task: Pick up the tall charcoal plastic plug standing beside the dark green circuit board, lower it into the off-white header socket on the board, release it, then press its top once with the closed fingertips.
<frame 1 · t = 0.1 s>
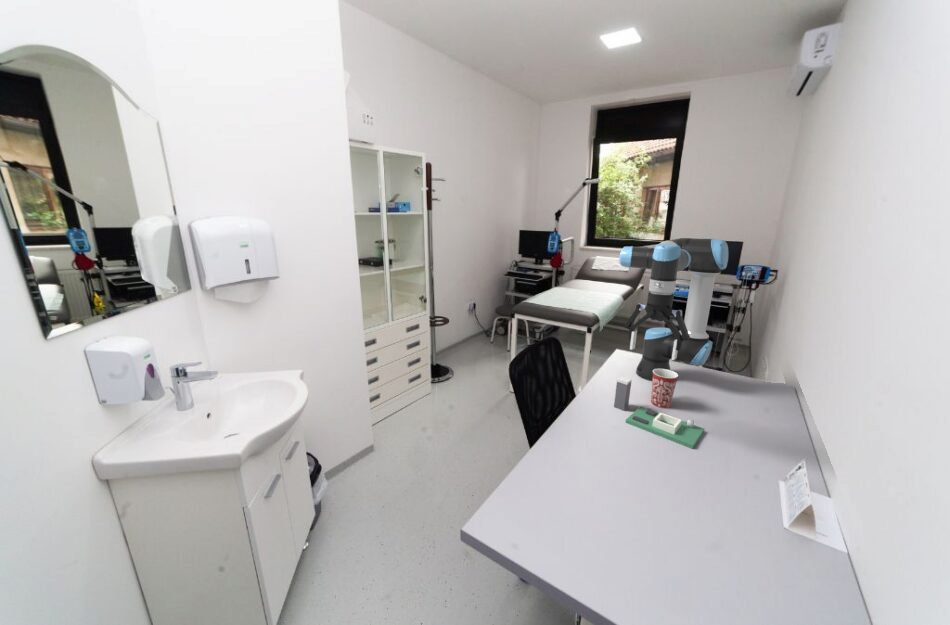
hand: (652, 353, 124), 28 cm above the table, fingers open, 13 cm apart
mug: (661, 402, 149), on the table
plug: (621, 407, 145), on the table
board: (663, 426, 131), on the table
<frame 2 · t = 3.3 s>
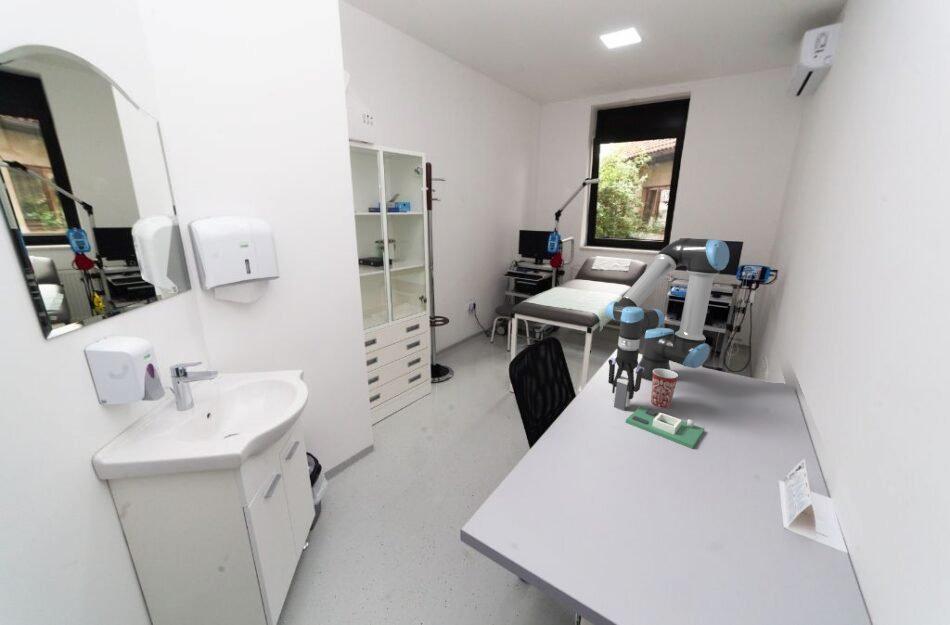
hand: (621, 403, 144), 2 cm above the table, fingers closed on plug, 4 cm apart
plug: (621, 407, 145), on the table, touching gripper
everything else where it was.
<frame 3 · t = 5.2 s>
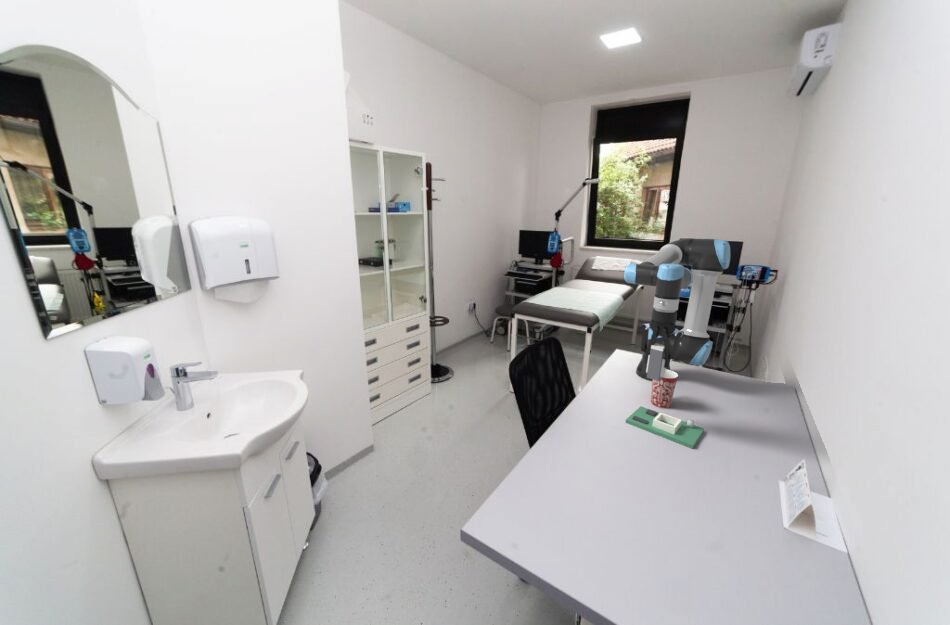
hand: (655, 373, 130), 19 cm above the table, fingers closed on plug, 4 cm apart
plug: (654, 377, 130), point 17 cm above the table, touching gripper
everything else where it was.
when the fingers open (4 cm above the table, at t = 7.6 s): plug drops 1 cm, resting on board.
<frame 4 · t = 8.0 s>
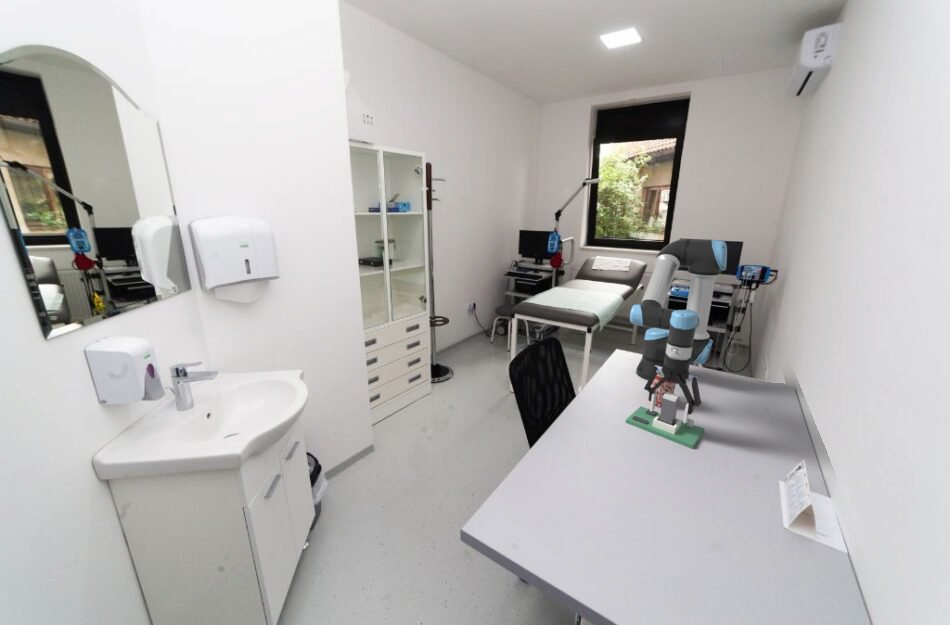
hand: (668, 415, 128), 5 cm above the table, fingers open, 10 cm apart
plug: (666, 426, 129), point 1 cm above the table, touching board
everything else where it was.
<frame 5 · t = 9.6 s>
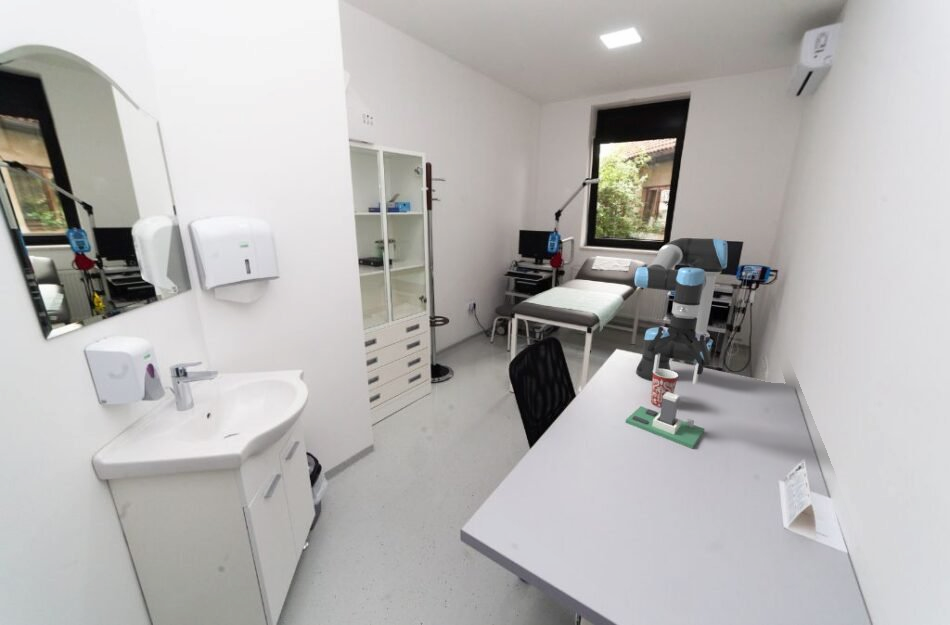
hand: (674, 376, 125), 20 cm above the table, fingers open, 12 cm apart
nothing on the table moved.
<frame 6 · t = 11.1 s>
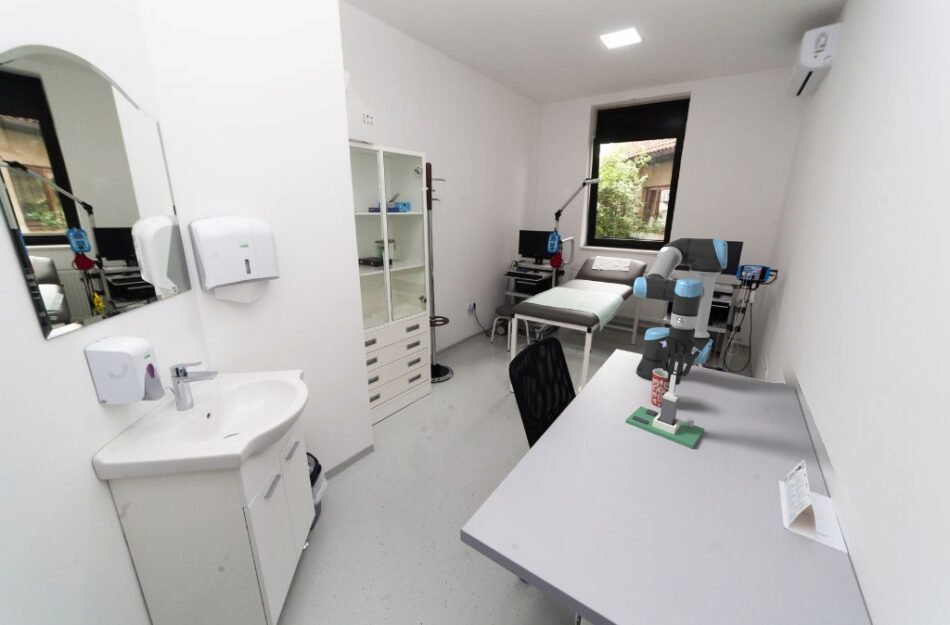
hand: (672, 391, 126), 15 cm above the table, fingers closed
nothing on the table moved.
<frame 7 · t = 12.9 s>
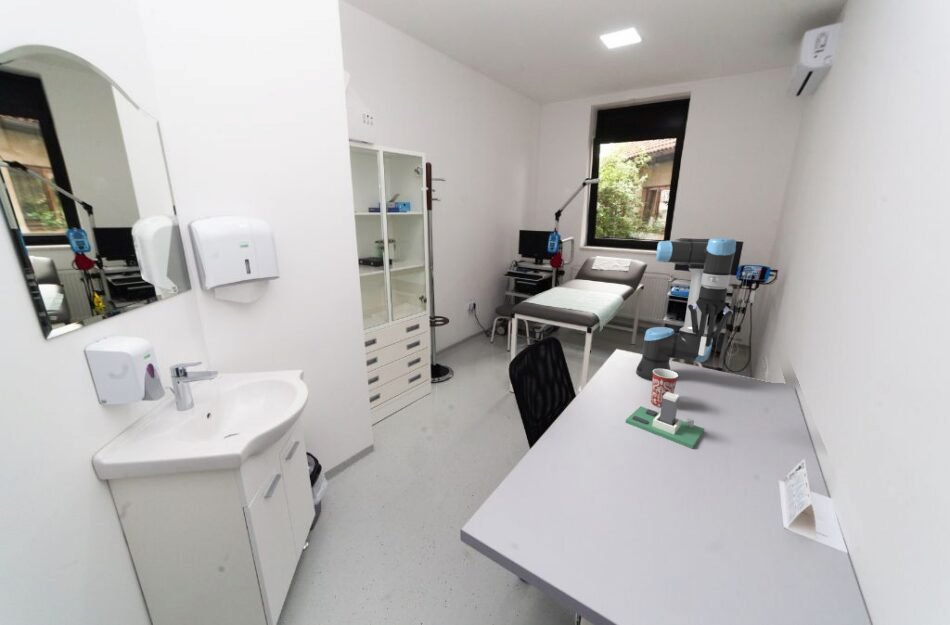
hand: (701, 354, 125), 28 cm above the table, fingers closed
nothing on the table moved.
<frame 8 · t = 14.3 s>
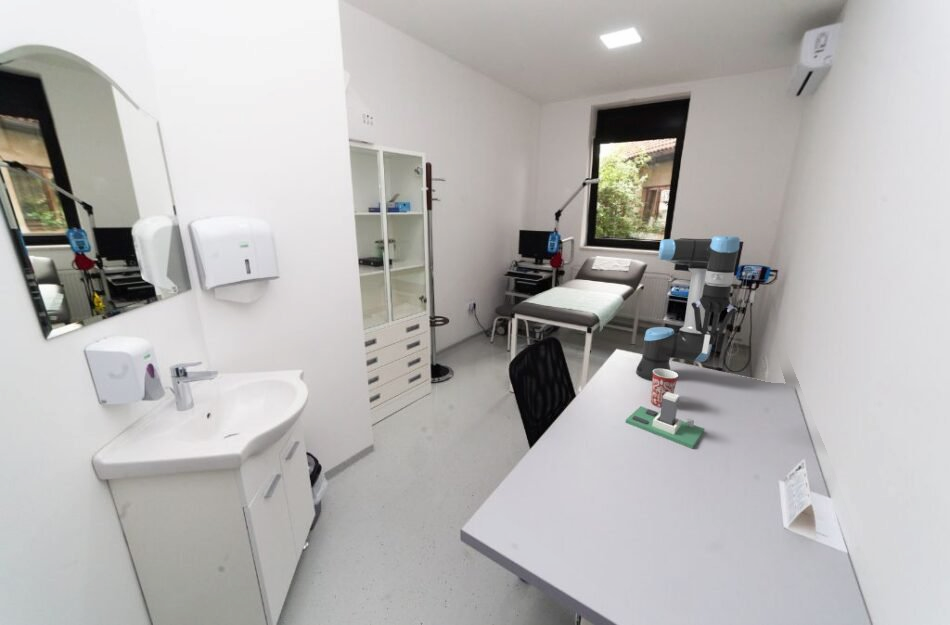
hand: (705, 352, 125), 28 cm above the table, fingers closed
nothing on the table moved.
at the end: plug 0.1 cm from the target spot on the board, point 1.2 cm above the board's base; plug tilted 0°; the gripper is holding nothing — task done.
